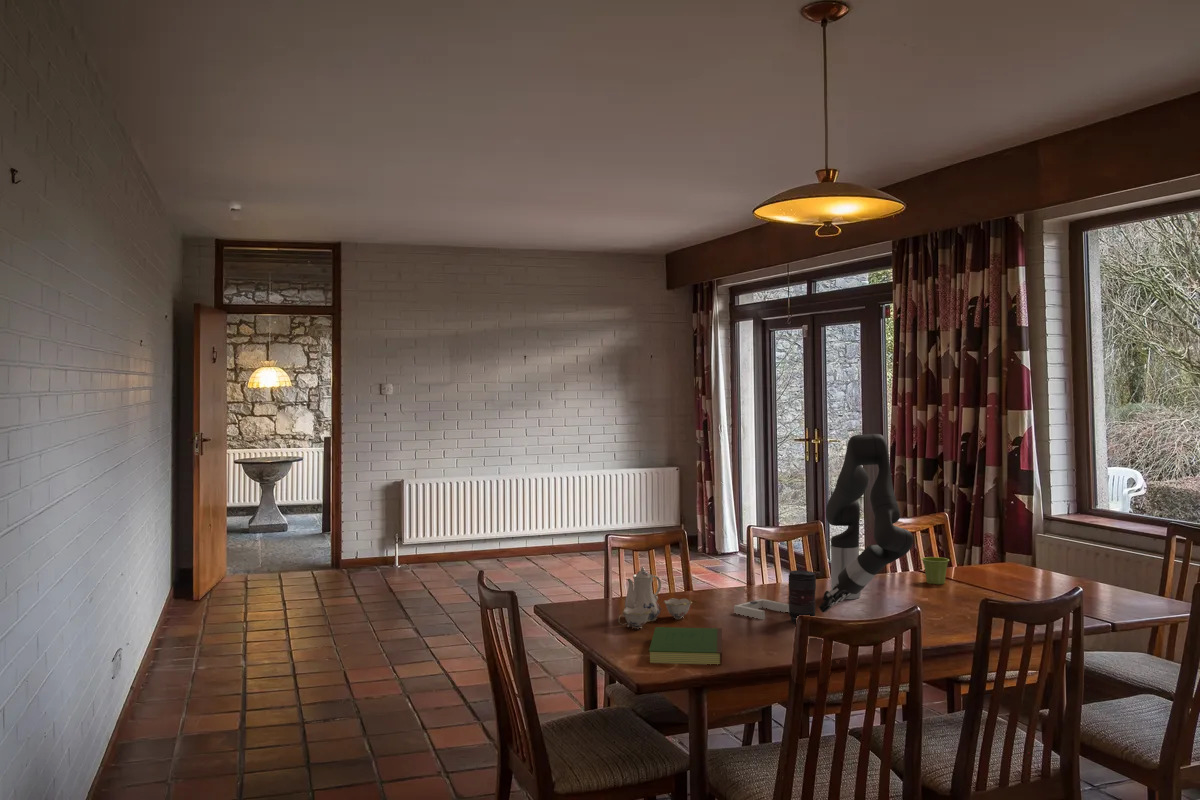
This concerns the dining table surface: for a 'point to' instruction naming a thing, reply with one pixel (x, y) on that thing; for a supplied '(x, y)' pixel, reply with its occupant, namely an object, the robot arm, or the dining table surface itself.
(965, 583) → the dining table surface
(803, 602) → the camera lens
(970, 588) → the dining table surface
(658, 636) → the hardcover book
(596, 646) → the dining table surface
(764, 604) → the mount cradle
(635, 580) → the chinaware
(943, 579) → the plant pot
